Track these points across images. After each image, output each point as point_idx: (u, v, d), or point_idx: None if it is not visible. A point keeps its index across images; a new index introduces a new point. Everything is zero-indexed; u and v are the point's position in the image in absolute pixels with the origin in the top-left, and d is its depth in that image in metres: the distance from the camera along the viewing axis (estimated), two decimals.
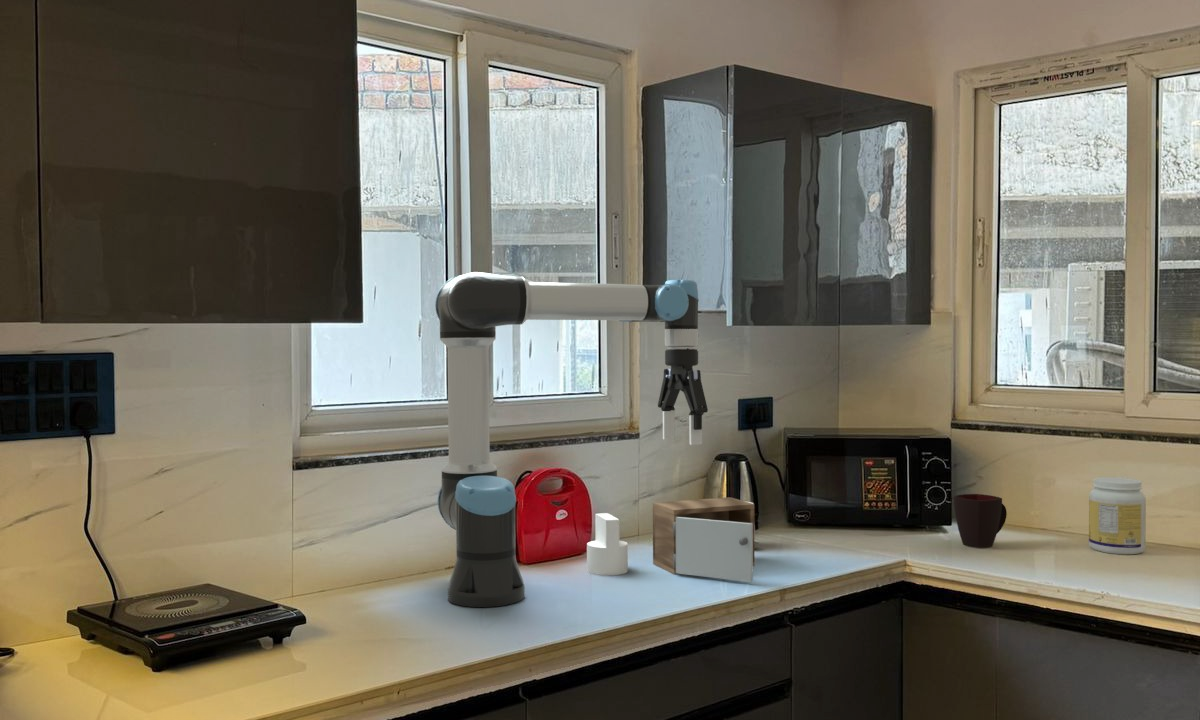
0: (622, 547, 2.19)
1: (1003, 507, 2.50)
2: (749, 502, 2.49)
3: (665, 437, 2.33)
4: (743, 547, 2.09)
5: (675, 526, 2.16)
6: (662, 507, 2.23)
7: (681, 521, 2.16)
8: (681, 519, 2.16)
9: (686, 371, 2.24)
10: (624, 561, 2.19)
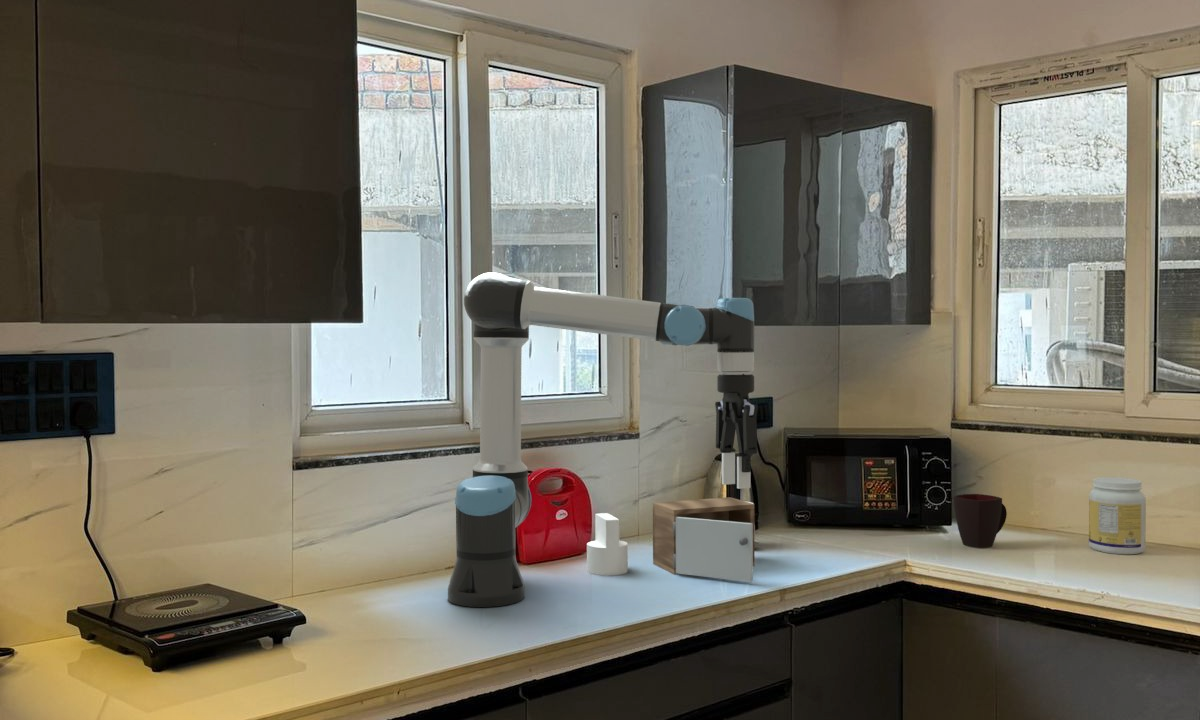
0: (622, 547, 2.19)
1: (1003, 507, 2.50)
2: (749, 502, 2.49)
3: (725, 482, 2.08)
4: (743, 547, 2.09)
5: (675, 526, 2.16)
6: (662, 507, 2.23)
7: (681, 521, 2.16)
8: (681, 519, 2.16)
9: (742, 401, 2.02)
10: (624, 561, 2.19)
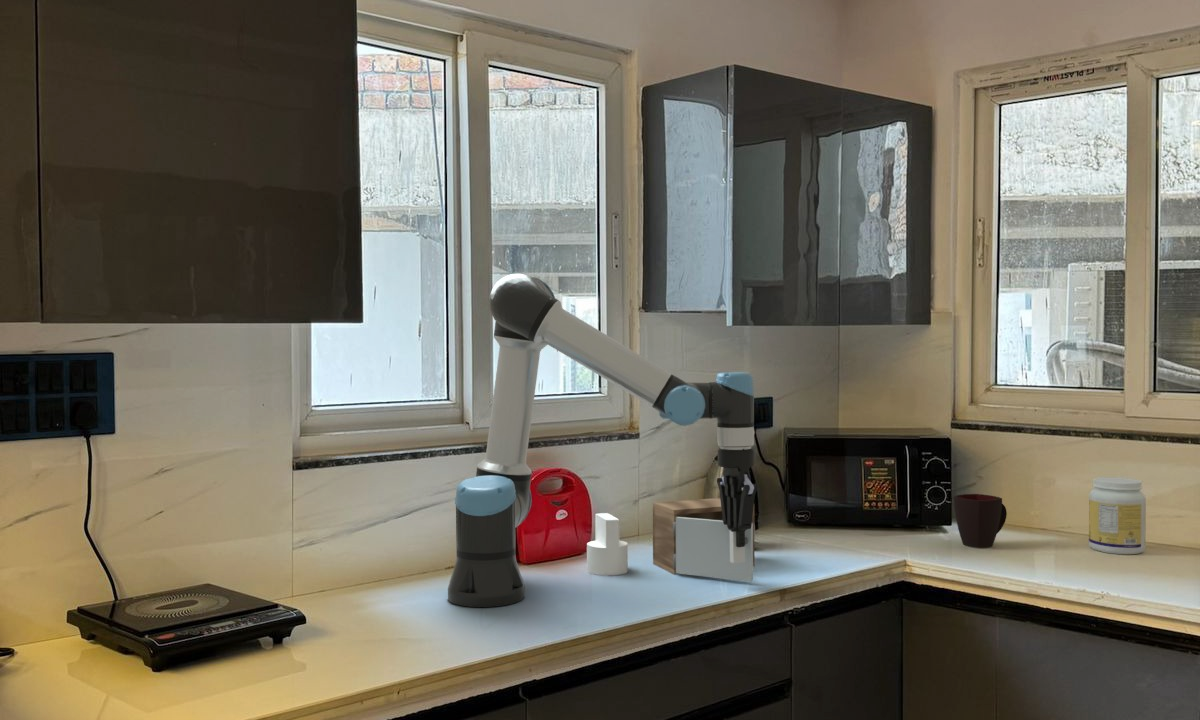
0: (622, 547, 2.19)
1: (1003, 507, 2.50)
2: None
3: None
4: None
5: (675, 526, 2.16)
6: (662, 507, 2.23)
7: (682, 521, 2.16)
8: (681, 519, 2.16)
9: (743, 478, 2.02)
10: (624, 561, 2.19)
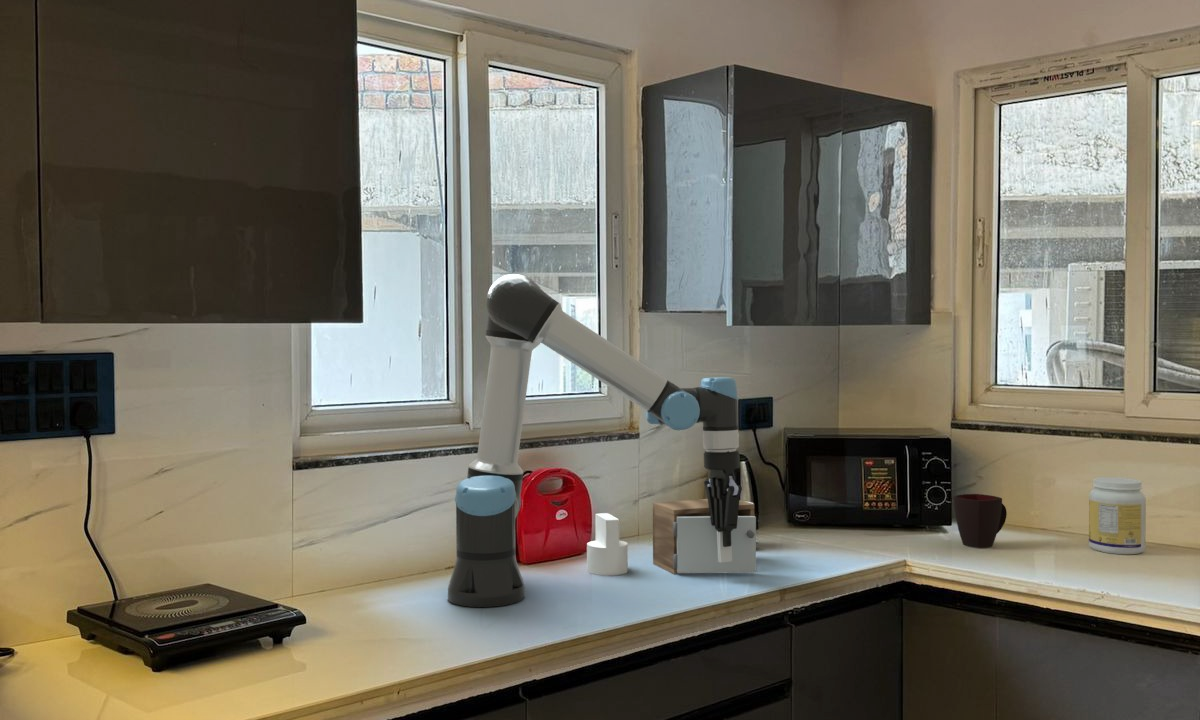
0: (622, 547, 2.19)
1: (1003, 507, 2.50)
2: (749, 502, 2.49)
3: None
4: (748, 540, 2.17)
5: (676, 526, 2.16)
6: (662, 507, 2.23)
7: (684, 520, 2.16)
8: (683, 518, 2.16)
9: (728, 480, 2.08)
10: (624, 561, 2.19)
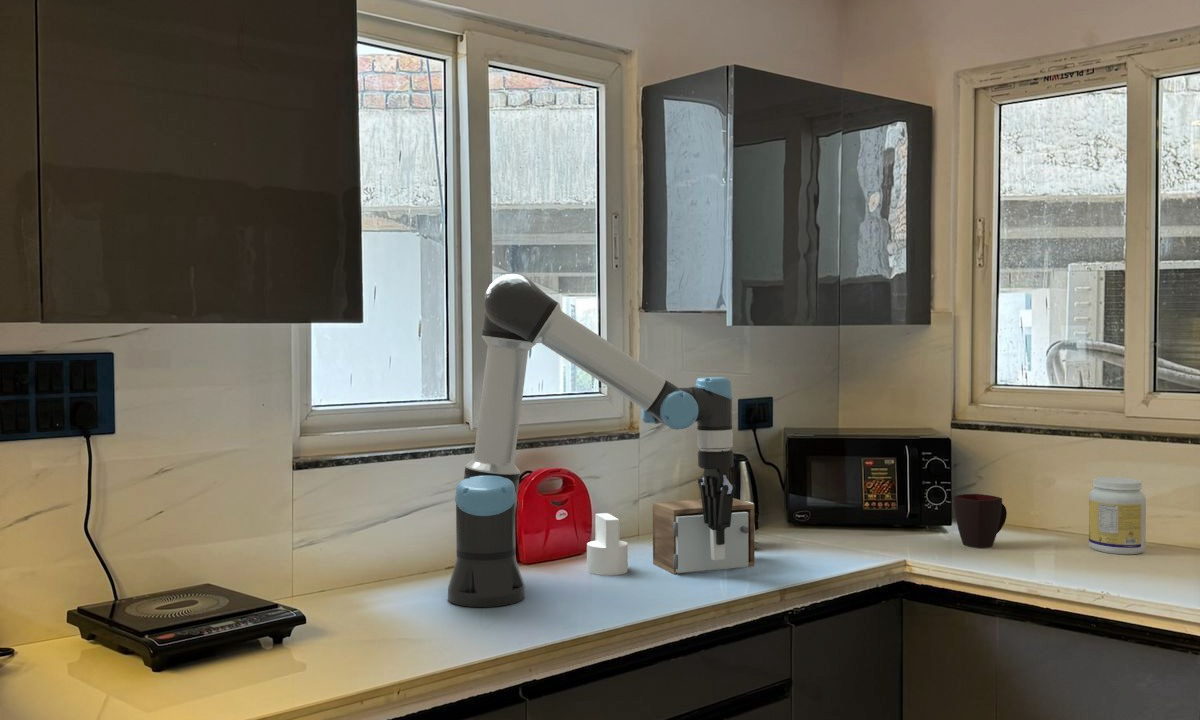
0: (622, 547, 2.19)
1: (1003, 507, 2.50)
2: (749, 502, 2.49)
3: None
4: (742, 535, 2.22)
5: (677, 526, 2.17)
6: (662, 507, 2.23)
7: (684, 520, 2.17)
8: (683, 518, 2.17)
9: (722, 479, 2.11)
10: (624, 561, 2.19)
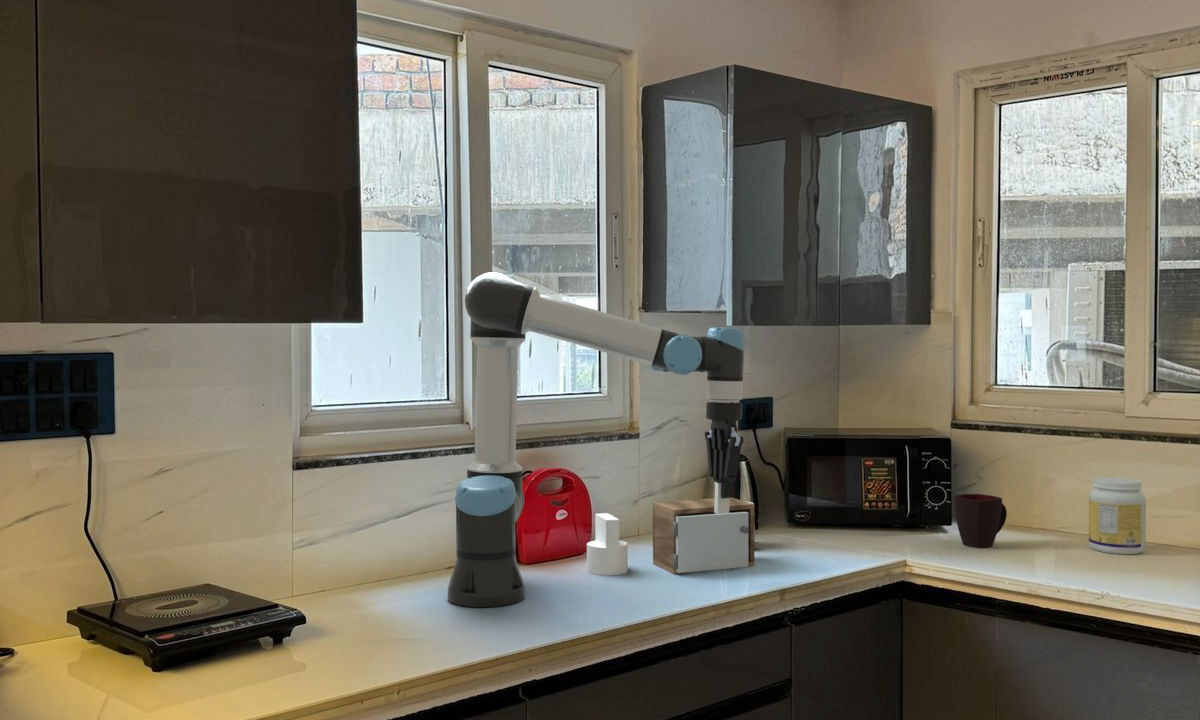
0: (622, 547, 2.19)
1: (1003, 507, 2.50)
2: (749, 502, 2.49)
3: None
4: (742, 535, 2.22)
5: (677, 526, 2.17)
6: (662, 507, 2.23)
7: (684, 520, 2.17)
8: (683, 518, 2.17)
9: (730, 430, 2.07)
10: (624, 561, 2.19)
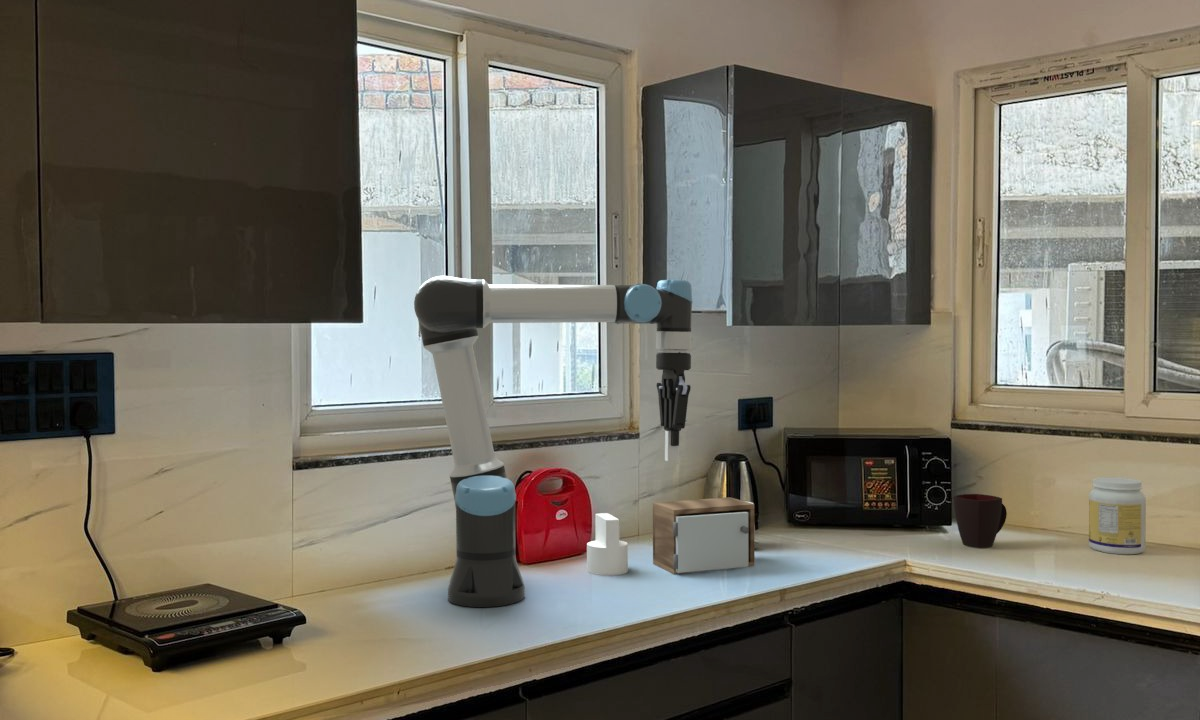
0: (622, 547, 2.19)
1: (1003, 507, 2.50)
2: (749, 502, 2.49)
3: None
4: (742, 535, 2.22)
5: (677, 526, 2.17)
6: (662, 507, 2.23)
7: (684, 520, 2.17)
8: (683, 518, 2.17)
9: (677, 379, 2.13)
10: (624, 561, 2.19)
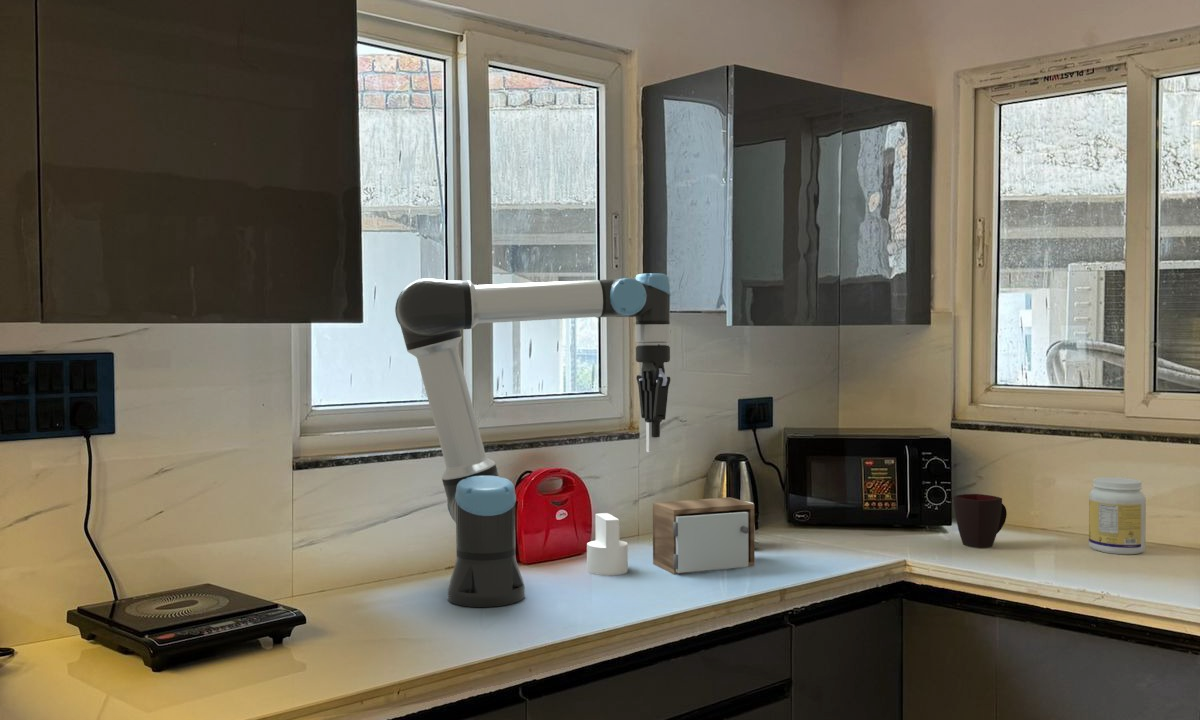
0: (622, 547, 2.19)
1: (1003, 507, 2.50)
2: (749, 502, 2.49)
3: None
4: (742, 535, 2.22)
5: (677, 526, 2.17)
6: (662, 507, 2.23)
7: (684, 520, 2.17)
8: (683, 518, 2.17)
9: (657, 371, 2.16)
10: (624, 561, 2.19)
